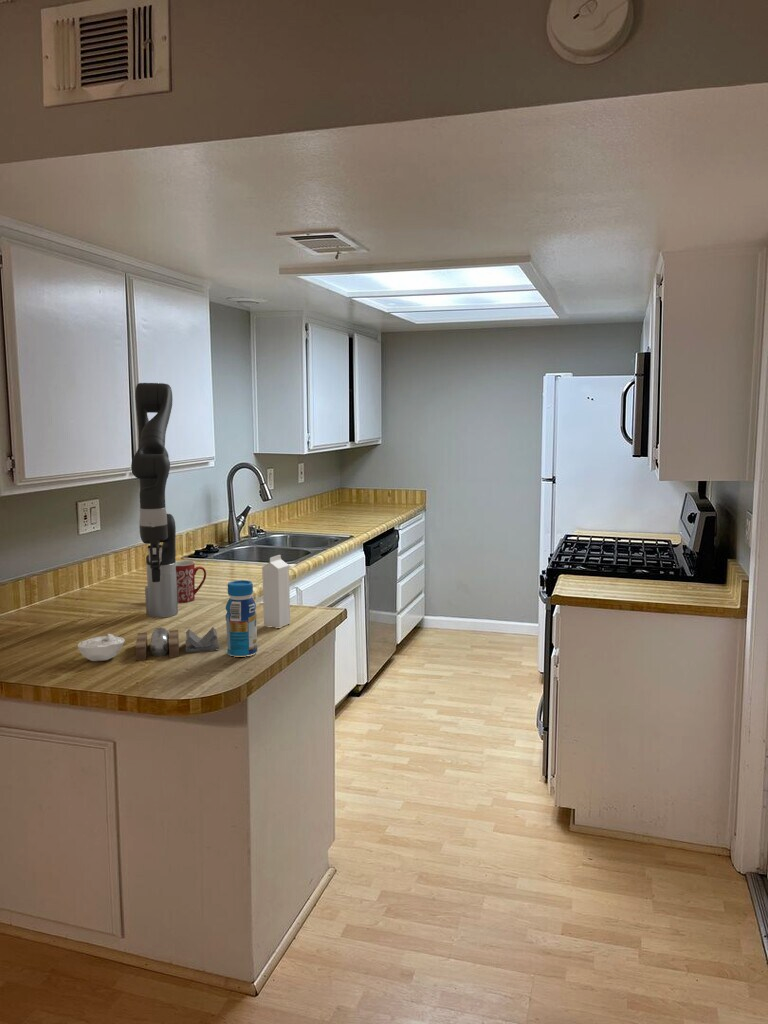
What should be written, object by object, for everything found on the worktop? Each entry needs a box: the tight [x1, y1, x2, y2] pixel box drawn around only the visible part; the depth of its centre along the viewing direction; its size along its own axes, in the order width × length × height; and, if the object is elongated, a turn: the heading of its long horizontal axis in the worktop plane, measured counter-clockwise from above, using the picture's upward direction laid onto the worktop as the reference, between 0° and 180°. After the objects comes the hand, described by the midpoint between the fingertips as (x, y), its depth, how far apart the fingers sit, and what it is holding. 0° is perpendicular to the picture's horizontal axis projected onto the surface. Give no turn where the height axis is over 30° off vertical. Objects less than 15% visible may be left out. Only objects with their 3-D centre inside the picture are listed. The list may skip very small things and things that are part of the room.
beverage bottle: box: [225, 579, 258, 657], centre depth 209 cm, size 8×8×20 cm
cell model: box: [77, 633, 126, 662], centre depth 206 cm, size 10×12×7 cm
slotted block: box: [134, 629, 180, 661], centre depth 213 cm, size 14×11×4 cm
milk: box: [261, 554, 291, 627], centre depth 236 cm, size 6×6×22 cm
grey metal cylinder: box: [149, 627, 169, 657], centre depth 214 cm, size 12×5×5 cm, turn 15°
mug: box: [176, 560, 207, 604], centre depth 269 cm, size 13×9×14 cm
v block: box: [184, 627, 220, 654], centre depth 216 cm, size 9×9×4 cm
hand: (156, 578), depth 222 cm, fingers open, 7 cm apart
